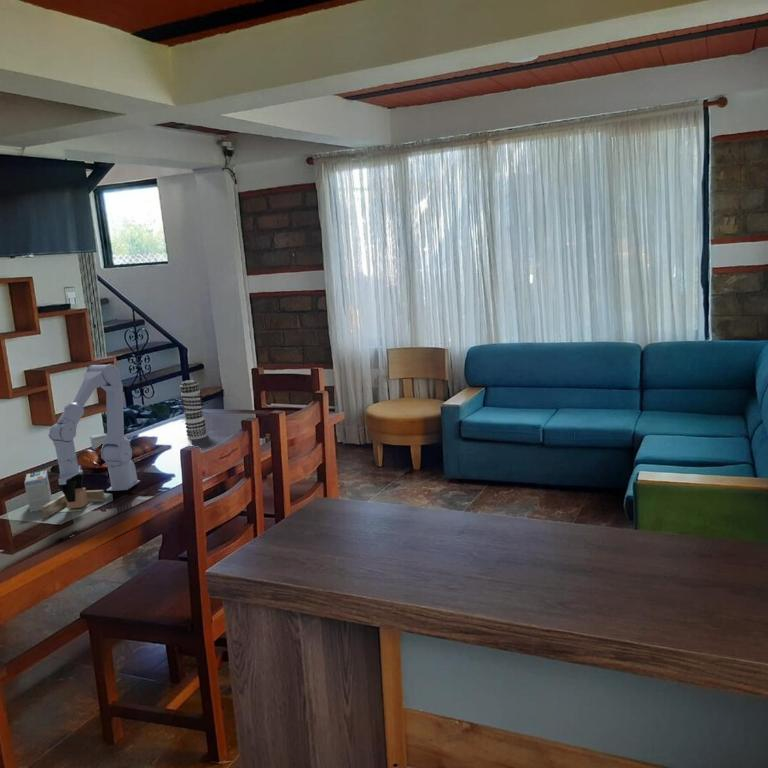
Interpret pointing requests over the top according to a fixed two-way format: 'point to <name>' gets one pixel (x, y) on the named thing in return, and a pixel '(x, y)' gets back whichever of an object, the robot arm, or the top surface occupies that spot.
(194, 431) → the decorative candle
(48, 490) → the light bulb box
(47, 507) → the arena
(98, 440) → the skincare box
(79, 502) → the cube
